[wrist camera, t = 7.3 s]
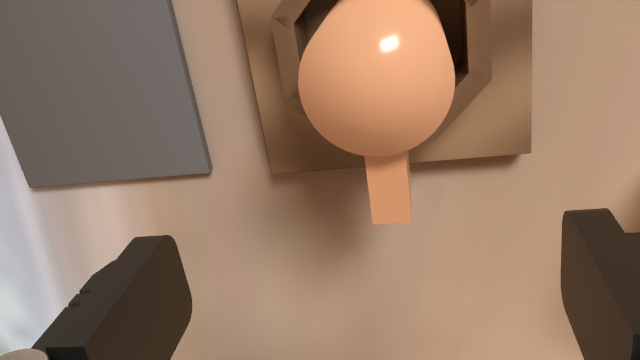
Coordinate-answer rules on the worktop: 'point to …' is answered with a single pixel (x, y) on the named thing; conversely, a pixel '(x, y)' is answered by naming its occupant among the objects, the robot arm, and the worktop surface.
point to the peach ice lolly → (379, 90)
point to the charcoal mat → (98, 91)
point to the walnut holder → (469, 94)
